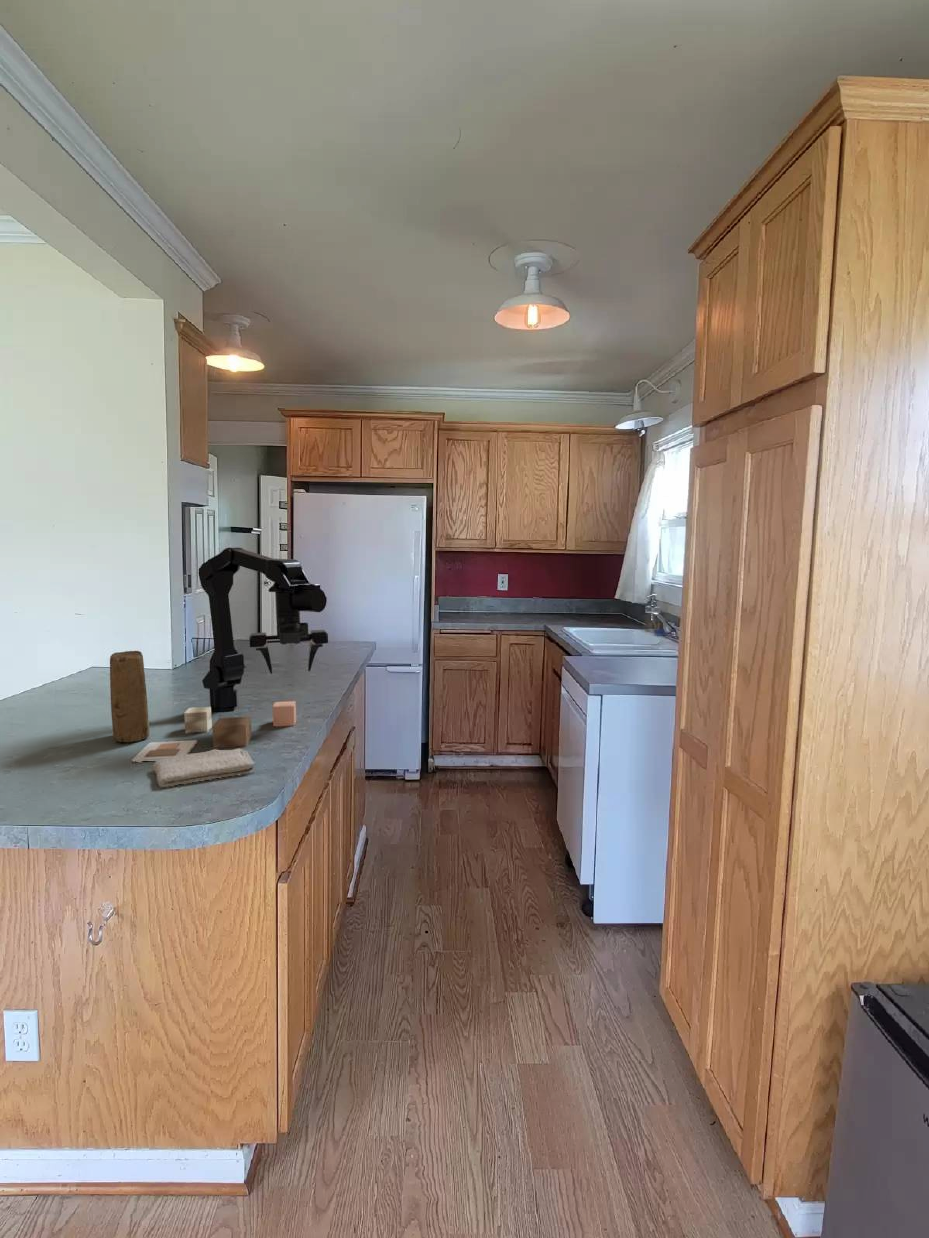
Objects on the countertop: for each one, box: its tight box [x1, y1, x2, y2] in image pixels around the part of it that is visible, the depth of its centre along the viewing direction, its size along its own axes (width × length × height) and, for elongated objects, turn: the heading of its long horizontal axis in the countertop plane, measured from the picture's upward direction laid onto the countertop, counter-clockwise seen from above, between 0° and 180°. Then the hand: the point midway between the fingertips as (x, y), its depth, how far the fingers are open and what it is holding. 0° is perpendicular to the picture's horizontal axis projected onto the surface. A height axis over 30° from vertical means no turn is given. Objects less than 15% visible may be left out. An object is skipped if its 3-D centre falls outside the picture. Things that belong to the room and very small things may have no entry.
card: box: [131, 739, 198, 762], centre depth 144 cm, size 10×12×1 cm
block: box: [109, 650, 150, 743], centre depth 154 cm, size 11×8×20 cm
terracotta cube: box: [272, 700, 297, 727], centre depth 166 cm, size 5×5×5 cm
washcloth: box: [152, 747, 256, 788], centre depth 132 cm, size 12×18×3 cm, turn 119°
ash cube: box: [183, 706, 213, 734], centre depth 161 cm, size 5×5×5 cm
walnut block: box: [211, 716, 252, 749], centre depth 150 cm, size 7×7×5 cm
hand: (290, 672), depth 167 cm, fingers open, 9 cm apart
